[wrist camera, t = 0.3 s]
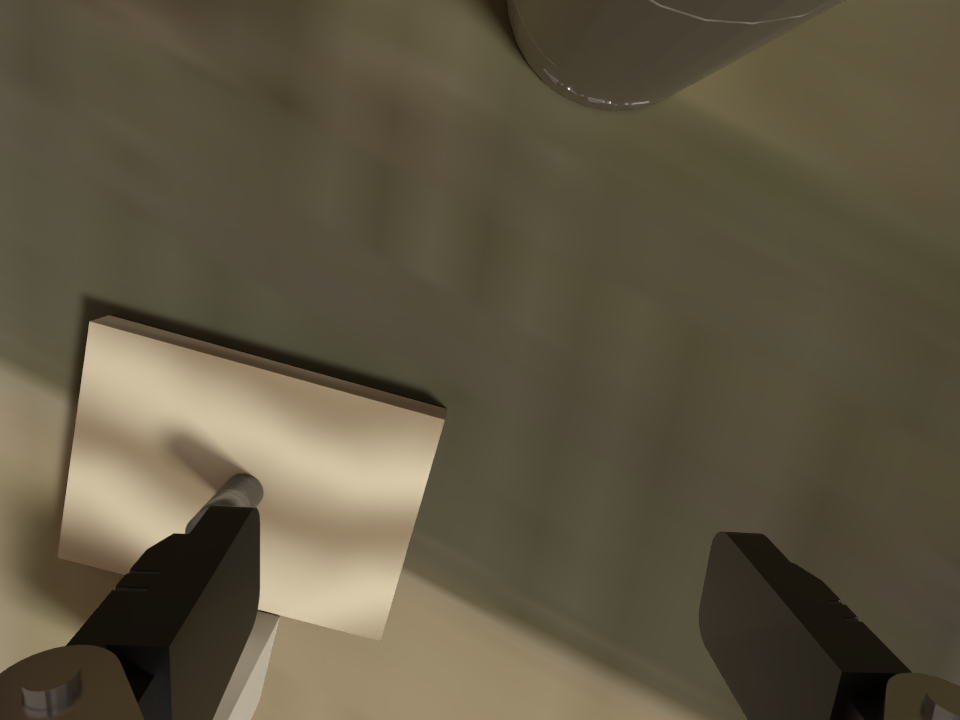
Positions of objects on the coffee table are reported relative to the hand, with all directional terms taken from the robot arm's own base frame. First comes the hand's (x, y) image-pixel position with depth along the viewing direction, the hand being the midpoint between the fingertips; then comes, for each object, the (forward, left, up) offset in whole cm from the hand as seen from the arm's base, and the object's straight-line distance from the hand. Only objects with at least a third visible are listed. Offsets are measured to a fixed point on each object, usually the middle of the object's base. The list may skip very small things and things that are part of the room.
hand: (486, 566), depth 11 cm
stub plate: (+10, -9, -19) cm, 23 cm away
